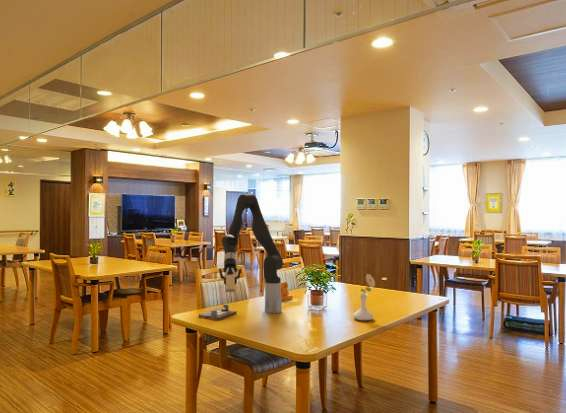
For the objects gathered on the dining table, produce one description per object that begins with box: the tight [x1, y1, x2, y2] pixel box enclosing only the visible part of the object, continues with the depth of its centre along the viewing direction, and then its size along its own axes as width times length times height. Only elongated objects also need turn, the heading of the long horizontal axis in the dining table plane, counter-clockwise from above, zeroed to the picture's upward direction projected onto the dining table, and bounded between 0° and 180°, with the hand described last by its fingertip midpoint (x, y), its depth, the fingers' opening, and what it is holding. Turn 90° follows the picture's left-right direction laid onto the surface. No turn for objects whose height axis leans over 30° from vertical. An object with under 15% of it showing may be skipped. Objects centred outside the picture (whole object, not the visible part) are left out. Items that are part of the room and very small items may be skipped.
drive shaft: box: [220, 303, 230, 311], centre depth 242 cm, size 3×4×3 cm
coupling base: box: [198, 308, 237, 321], centre depth 236 cm, size 14×17×2 cm
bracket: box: [280, 280, 294, 302], centre depth 283 cm, size 11×7×12 cm, turn 125°
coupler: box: [225, 274, 235, 293], centre depth 250 cm, size 5×5×10 cm
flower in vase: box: [352, 273, 376, 321], centre depth 232 cm, size 13×11×25 cm
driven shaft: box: [210, 309, 217, 317], centre depth 230 cm, size 3×4×3 cm
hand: (230, 283), depth 248 cm, fingers closed on coupler, 5 cm apart
